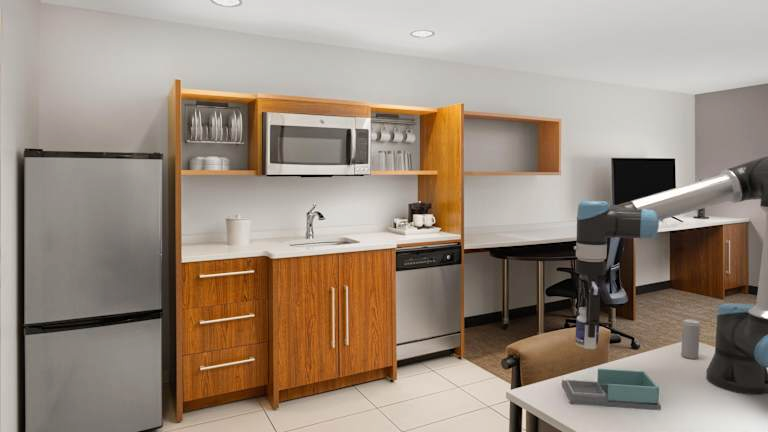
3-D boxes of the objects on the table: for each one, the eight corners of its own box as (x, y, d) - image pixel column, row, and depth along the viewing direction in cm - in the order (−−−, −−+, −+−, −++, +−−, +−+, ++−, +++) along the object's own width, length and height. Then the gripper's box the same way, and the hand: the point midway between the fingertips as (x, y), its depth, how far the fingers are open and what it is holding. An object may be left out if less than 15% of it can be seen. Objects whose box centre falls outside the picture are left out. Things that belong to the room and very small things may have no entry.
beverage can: (684, 359, 163) (686, 323, 162) (678, 353, 167) (680, 318, 166) (700, 360, 162) (703, 323, 161) (694, 354, 166) (696, 319, 165)
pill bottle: (587, 350, 131) (589, 312, 130) (570, 343, 136) (572, 307, 135) (602, 346, 134) (604, 310, 133) (585, 340, 139) (587, 305, 138)
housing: (643, 385, 139) (644, 371, 138) (658, 403, 128) (659, 388, 128) (597, 382, 141) (597, 368, 140) (608, 399, 130) (608, 384, 130)
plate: (644, 390, 139) (644, 382, 139) (660, 410, 128) (661, 401, 127) (561, 384, 143) (561, 376, 143) (570, 403, 131) (570, 395, 131)
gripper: (568, 253, 143) (565, 332, 145) (584, 265, 124) (580, 355, 126) (596, 254, 141) (592, 334, 144) (616, 266, 123) (611, 357, 125)
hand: (586, 344), depth 135 cm, fingers closed on pill bottle, 6 cm apart
